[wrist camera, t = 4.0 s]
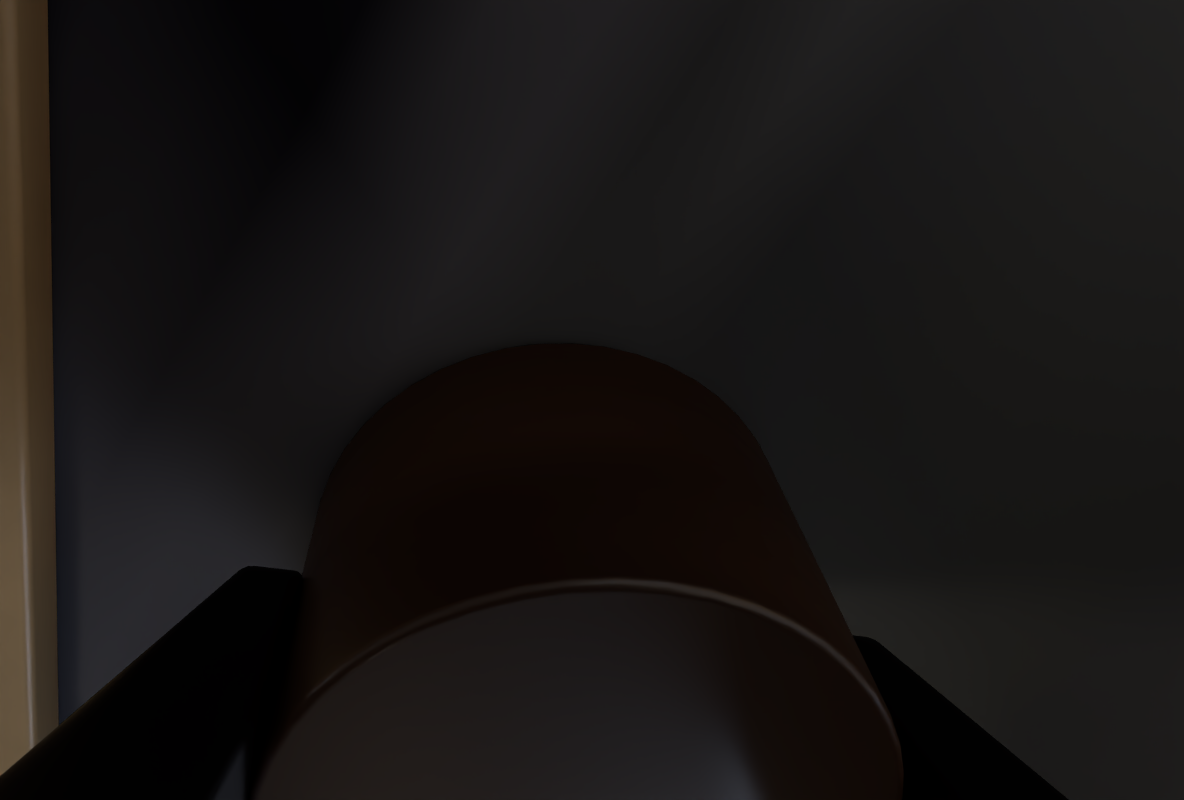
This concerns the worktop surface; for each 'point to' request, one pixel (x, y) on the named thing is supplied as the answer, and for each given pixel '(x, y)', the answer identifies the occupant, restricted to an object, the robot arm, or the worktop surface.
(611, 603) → the eye
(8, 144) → the face board
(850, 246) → the worktop surface
